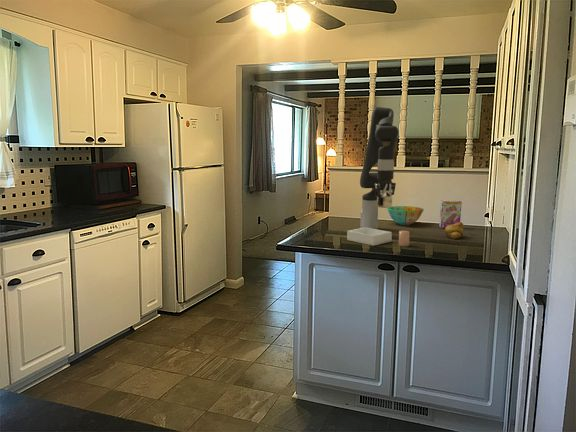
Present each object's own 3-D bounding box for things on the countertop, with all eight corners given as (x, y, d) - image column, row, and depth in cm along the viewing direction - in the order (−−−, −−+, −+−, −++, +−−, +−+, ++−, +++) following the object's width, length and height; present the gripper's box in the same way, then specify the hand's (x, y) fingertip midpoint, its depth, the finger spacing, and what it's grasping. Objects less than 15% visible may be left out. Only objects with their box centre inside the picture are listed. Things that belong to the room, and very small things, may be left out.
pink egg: (396, 245, 230) (397, 231, 229) (402, 243, 233) (403, 230, 232) (405, 246, 226) (405, 232, 225) (410, 245, 229) (411, 231, 228)
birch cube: (376, 206, 219) (377, 196, 218) (383, 205, 222) (383, 195, 221) (385, 208, 215) (385, 197, 214) (391, 207, 219) (392, 196, 218)
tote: (347, 240, 242) (347, 230, 241) (365, 236, 251) (365, 227, 250) (373, 245, 229) (373, 235, 228) (391, 241, 238) (391, 232, 237)
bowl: (388, 220, 302) (389, 205, 300) (424, 222, 295) (424, 206, 293) (384, 226, 281) (384, 210, 280) (421, 228, 274) (422, 211, 272)
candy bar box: (440, 228, 274) (442, 201, 271) (439, 226, 279) (440, 200, 276) (460, 228, 273) (461, 201, 270) (458, 227, 277) (459, 200, 275)
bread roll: (463, 240, 241) (463, 225, 239) (443, 239, 244) (444, 224, 243) (463, 235, 253) (464, 221, 251) (444, 234, 256) (445, 220, 255)
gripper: (388, 168, 223) (387, 202, 226) (369, 169, 214) (368, 205, 217) (401, 168, 218) (400, 204, 220) (382, 170, 208) (381, 207, 211)
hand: (384, 204), depth 219 cm, fingers closed on birch cube, 5 cm apart
